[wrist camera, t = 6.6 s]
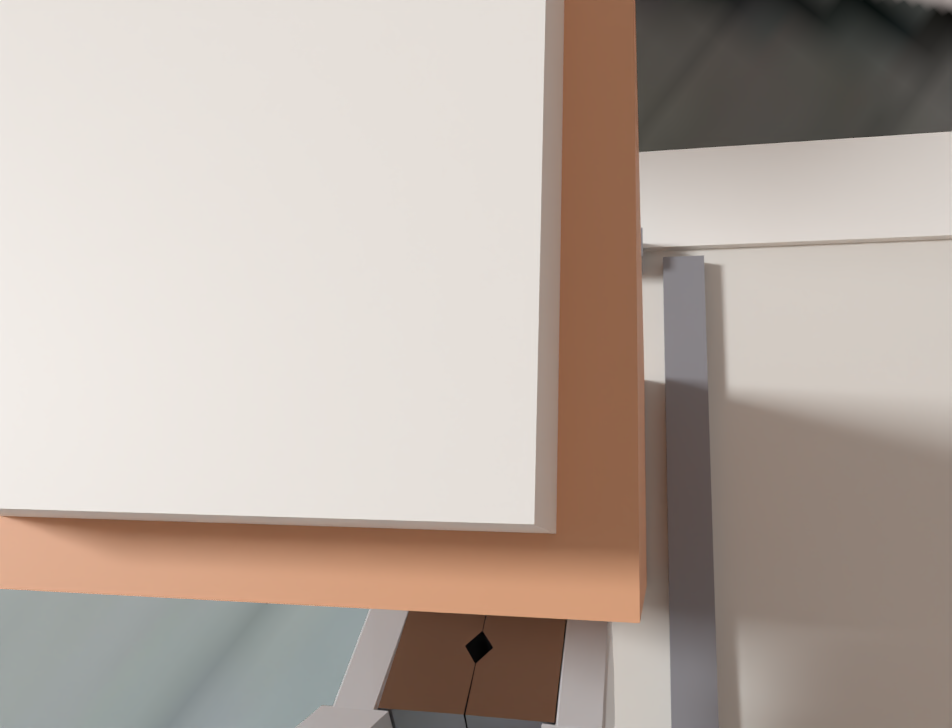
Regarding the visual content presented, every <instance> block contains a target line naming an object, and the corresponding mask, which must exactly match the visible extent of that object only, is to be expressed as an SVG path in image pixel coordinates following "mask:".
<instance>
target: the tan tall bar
mask: <svg viewBox="0 0 952 728" xmlns="http://www.w3.org/2000/svg"><path fill="white" fill-rule="evenodd" d="M646 587H647V558H646V472H645V386H644V341H643V300H642V259H641V218H640V177H639V136H638V95H637V54H636V13H635V0H0V589H15V590H34V591H52V592H71V593H89V594H108V595H126V596H145V597H163V598H182V599H200V600H219V601H237V602H256V603H275V604H293V605H312V606H330V607H349V608H367V609H386V610H404V611H423V612H441V613H460V614H478V615H497V616H515V617H534V618H553V619H571V620H590V621H608V622H627V623H640V620H641V614H642V609H643V603H644V598H645V593H646Z"/></svg>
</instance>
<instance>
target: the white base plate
mask: <svg viewBox="0 0 952 728" xmlns="http://www.w3.org/2000/svg"><path fill="white" fill-rule="evenodd" d="M639 177H640V218H641V259H642V300H643V341H644V386H645V472H646V558H647V587H646V593H645V598H644V603H643V609H642V614H641V620H640V623H627V622H612V635H613V659H614V697H615V728H952V132H938V133H922V134H907V135H892V136H877V137H861V138H846V139H831V140H816V141H801V142H785V143H770V144H755V145H740V146H724V147H709V148H694V149H679V150H663V151H648V152H639Z"/></svg>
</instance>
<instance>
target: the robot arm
mask: <svg viewBox="0 0 952 728" xmlns="http://www.w3.org/2000/svg"><path fill="white" fill-rule="evenodd" d="M296 728H615V697H614V659H613V635H612V622H608V621H590V620H571V619H553V618H534V617H515V616H497V615H478V614H460V613H441V612H423V611H404V610H386V609H369V612H368V615H367V617H366V620H365V623H364V625H363V628H362V631H361V633H360V636H359V638H358V641H357V644H356V646H355V649H354V652H353V654H352V657H351V660H350V662H349V665H348V667H347V670H346V673H345V675H344V678H343V681H342V683H341V686H340V688H339V691H338V694H337V696H336V699H335V702H334V704H333V706H327V705H321V706H320V707H319V708H318V709H317V710H316V711H314V712H313V713H312V714H311V715H310V716H309V717H307V718H306V719H305V720H304V721H303V722H301V723H300V724H299V725H298V726H297V727H296Z"/></svg>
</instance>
